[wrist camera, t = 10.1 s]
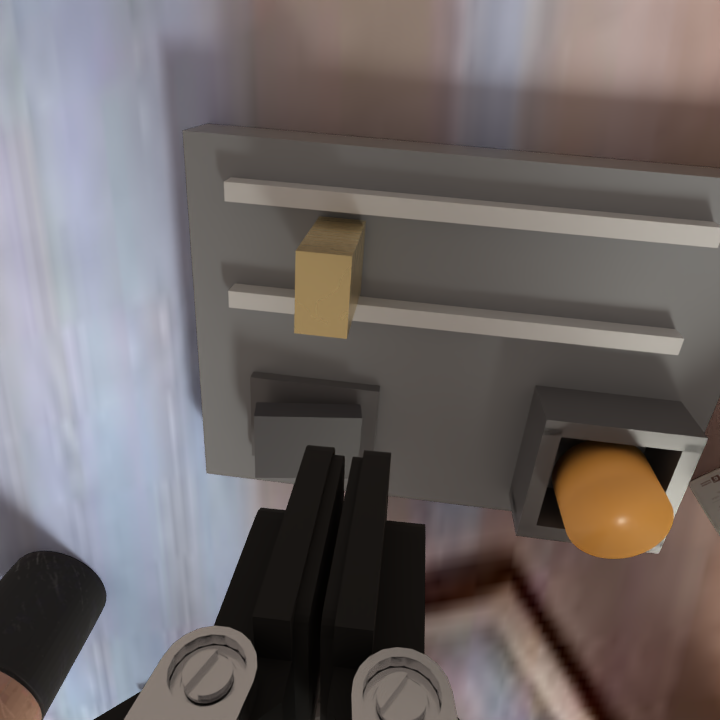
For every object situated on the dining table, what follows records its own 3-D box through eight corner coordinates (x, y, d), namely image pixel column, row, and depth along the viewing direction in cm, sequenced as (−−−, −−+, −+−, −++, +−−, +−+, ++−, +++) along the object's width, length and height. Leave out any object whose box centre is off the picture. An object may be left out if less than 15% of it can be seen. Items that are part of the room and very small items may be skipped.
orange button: (662, 443, 26) (688, 487, 23) (633, 517, 28) (655, 564, 26) (563, 432, 26) (578, 474, 24) (542, 505, 28) (554, 551, 26)
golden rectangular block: (366, 220, 24) (352, 256, 20) (360, 291, 26) (346, 339, 22) (319, 216, 25) (295, 250, 20) (317, 286, 26) (293, 333, 22)
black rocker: (360, 404, 28) (362, 418, 27) (355, 463, 30) (357, 478, 29) (256, 402, 28) (254, 416, 27) (257, 462, 29) (255, 477, 28)
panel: (768, 172, 25) (859, 202, 20) (644, 492, 34) (685, 574, 28) (207, 123, 27) (151, 139, 21) (223, 441, 35) (186, 510, 30)
